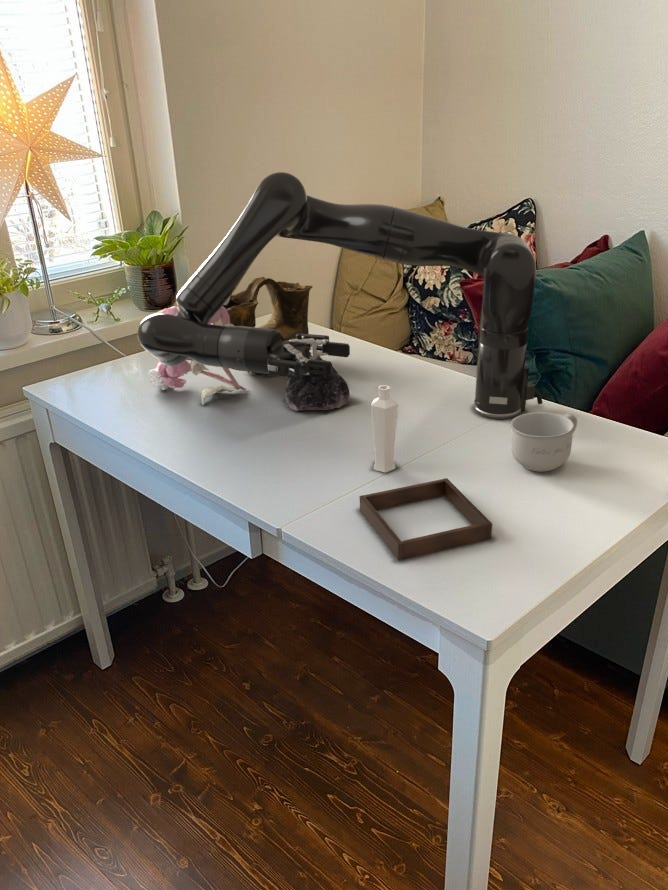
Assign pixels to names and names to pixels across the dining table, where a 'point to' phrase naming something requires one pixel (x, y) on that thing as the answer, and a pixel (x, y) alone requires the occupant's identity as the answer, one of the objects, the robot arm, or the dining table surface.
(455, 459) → the dining table surface
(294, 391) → the crystal cluster
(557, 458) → the teacup
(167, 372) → the flower
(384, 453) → the perfume bottle
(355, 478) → the dining table surface
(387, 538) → the walnut frame
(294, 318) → the pottery vessel
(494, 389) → the robot arm
